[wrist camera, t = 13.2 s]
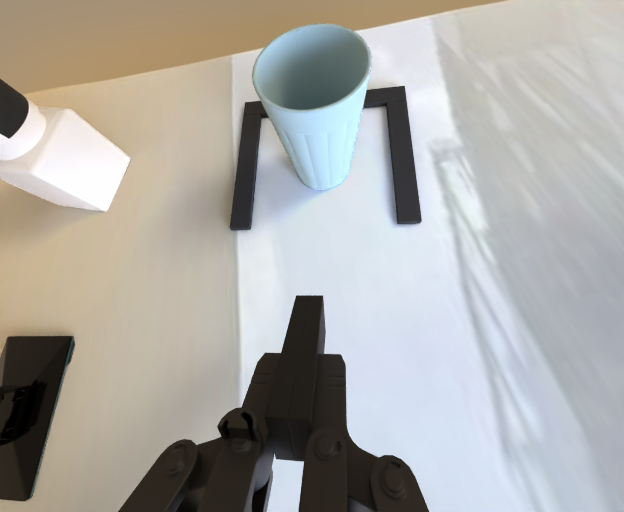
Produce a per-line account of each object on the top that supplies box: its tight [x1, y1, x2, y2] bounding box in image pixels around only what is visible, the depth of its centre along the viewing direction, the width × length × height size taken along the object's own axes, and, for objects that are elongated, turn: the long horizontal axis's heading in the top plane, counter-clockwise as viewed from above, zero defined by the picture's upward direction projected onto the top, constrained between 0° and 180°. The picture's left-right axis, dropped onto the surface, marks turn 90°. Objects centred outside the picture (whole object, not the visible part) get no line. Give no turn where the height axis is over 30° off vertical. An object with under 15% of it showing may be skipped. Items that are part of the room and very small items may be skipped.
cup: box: [252, 23, 372, 190], centre depth 21 cm, size 8×8×10 cm
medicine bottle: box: [0, 79, 131, 211], centre depth 23 cm, size 7×7×12 cm
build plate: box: [0, 336, 75, 501], centre depth 20 cm, size 12×7×5 cm, turn 0°
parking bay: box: [230, 86, 422, 230], centre depth 26 cm, size 16×18×1 cm
